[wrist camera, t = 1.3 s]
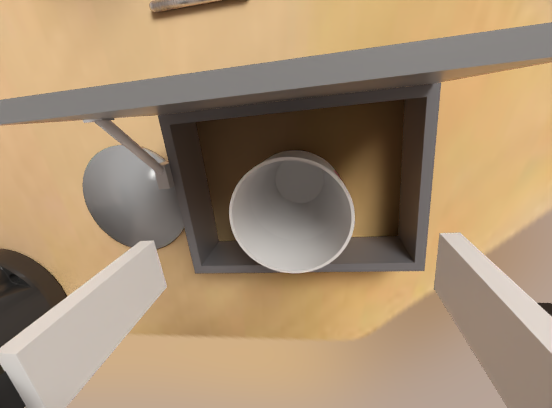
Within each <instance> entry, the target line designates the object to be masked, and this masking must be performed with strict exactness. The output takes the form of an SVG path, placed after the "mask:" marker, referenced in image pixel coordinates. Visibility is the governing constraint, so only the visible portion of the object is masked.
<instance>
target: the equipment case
mask: <svg viewBox="0 0 552 408" xmlns="http://www.w3.org/2000/svg"><path fill="white" fill-rule="evenodd" d="M550 62H552V22H551V23H544V24H537V25H530V26H523V27H516V28H509V29H501V30H494V31H487V32H480V33H473V34H466V35H459V36H452V37H445V38H437V39H430V40H423V41H416V42H409V43H402V44H395V45H388V46H381V47H373V48H366V49H359V50H352V51H345V52H338V53H331V54H324V55H317V56H309V57H302V58H295V59H288V60H281V61H274V62H267V63H260V64H252V65H245V66H238V67H231V68H224V69H217V70H210V71H203V72H196V73H188V74H181V75H174V76H167V77H160V78H153V79H146V80H139V81H132V82H124V83H117V84H110V85H103V86H96V87H89V88H82V89H75V90H68V91H60V92H53V93H46V94H39V95H32V96H25V97H18V98H11V99H4V100H0V125H14V124H29V123H44V122H60V121H75V120H83V122H84V123H87V122H95V123H96V124H97V125H98V126H100V127H101V128H102V129H103V130H105V131H106V132H107V133H108V134H110V135H111V136H112V137H113V138H115V139H116V140H117V141H118V142H120V143H121V144H122V145H123V146H124V147H126V148H127V149H128V150H129V151H131V152H132V153H133V154H134V155H136V156H137V157H138V158H139V159H141V160H142V161H143V162H144V163H146V164H147V165H148V166H149V167H150V168H152V169H153V170H154V172H155V176H156V180H157V184H158V188H159V189H170V188H172V187H173V186H175V190H176V194H177V198H178V202H179V207H180V211H181V215H182V219H183V224H184V228H185V232H186V236H187V240H188V245H189V249H190V253H191V257H192V262H193V266H194V270H195V273H273V272H279V271H275V270H272V269H269V268H267V267H265V266H263V265H261V264H259V263H258V262H256V261H255V260H253V259H252V258H251V257H250V256H249V255H248V254H247V253H246V252H245V251H244V250H243V249H242V248H241V246H240V245H239V244H238V242H237V241H219V239H218V234H217V229H216V224H215V219H214V213H213V208H212V203H211V198H210V193H209V188H208V183H207V177H206V172H205V167H204V162H203V157H202V152H201V147H200V141H199V136H198V131H197V126H196V122H200V121H209V120H218V119H227V118H237V117H246V116H255V115H264V114H273V113H283V112H292V111H301V110H310V109H319V108H329V107H338V106H347V105H356V104H365V103H375V102H384V101H393V100H402V99H405V102H404V123H403V143H402V164H401V184H400V205H399V225H398V236H379V237H351V238H350V241H349V243H348V244H347V246H346V248H345V249H344V250H343V252H342V253H341V254H340V255H339V256H338V257H337V258H336V259H335V260H333V261H332V262H330V263H329V264H327V265H326V266H324V267H322V268H319V269H317V270H314V271H310V272H370V271H424V269H425V258H426V247H427V235H428V224H429V213H430V201H431V190H432V179H433V168H434V156H435V145H436V134H437V122H438V111H439V100H440V89H441V83H439V82H444V81H450V80H456V79H461V78H467V77H472V76H478V75H483V74H489V73H494V72H500V71H505V70H511V69H516V68H522V67H527V66H533V65H539V64H544V63H550ZM432 83H433V84H432ZM423 84H424V85H423ZM406 86H407V87H406ZM397 87H398V88H397ZM380 89H381V90H380ZM363 91H364V92H363ZM354 92H355V93H354ZM337 94H338V95H337ZM328 95H329V96H328ZM311 97H312V98H311ZM302 98H303V99H302ZM285 100H286V101H285ZM276 101H277V102H276ZM259 103H260V104H259ZM242 105H243V106H242ZM233 106H234V107H233ZM216 108H217V109H216ZM207 109H208V110H207ZM190 111H191V112H190ZM181 112H182V113H181ZM164 114H165V115H164ZM151 115H158V118H159V122H160V126H161V131H162V135H163V139H164V143H165V148H166V152H167V156H168V160H169V161H168V162H162V163H158V162H157V161H156V160H155V159H154V158H153V157H152V156H151V155H149V154H148V153H147V152H146V151H145V150H144V149H143V148H141V147H140V146H139V145H138V144H137V143H136V142H135V141H133V140H132V139H131V138H130V137H129V136H128V135H127V134H125V133H124V132H123V131H122V130H121V129H120V128H119V127H117V126H116V125H115V124H114V123H113V122H112V121H111V120H115V119H114V118H121V117H136V116H151Z"/></svg>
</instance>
